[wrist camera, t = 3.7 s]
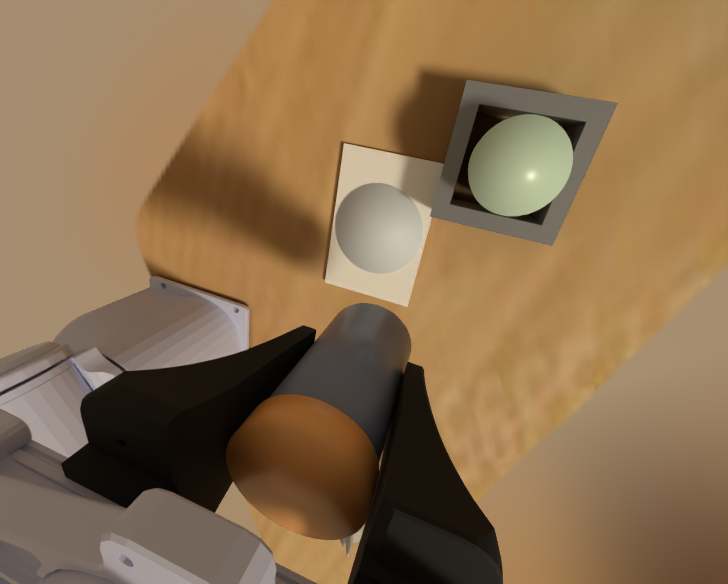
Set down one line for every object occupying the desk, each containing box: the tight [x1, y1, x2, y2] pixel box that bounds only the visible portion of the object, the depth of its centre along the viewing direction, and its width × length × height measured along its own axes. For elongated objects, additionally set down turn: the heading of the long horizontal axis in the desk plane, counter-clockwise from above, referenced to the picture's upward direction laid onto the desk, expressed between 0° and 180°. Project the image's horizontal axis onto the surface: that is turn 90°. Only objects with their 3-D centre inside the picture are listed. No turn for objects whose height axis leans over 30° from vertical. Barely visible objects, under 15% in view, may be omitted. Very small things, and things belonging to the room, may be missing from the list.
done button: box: [468, 114, 573, 216], centre depth 14 cm, size 4×4×3 cm
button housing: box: [430, 80, 618, 246], centre depth 16 cm, size 6×6×3 cm
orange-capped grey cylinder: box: [226, 303, 411, 540], centre depth 12 cm, size 4×4×8 cm
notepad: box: [325, 143, 444, 307], centre depth 20 cm, size 6×9×1 cm, turn 169°
